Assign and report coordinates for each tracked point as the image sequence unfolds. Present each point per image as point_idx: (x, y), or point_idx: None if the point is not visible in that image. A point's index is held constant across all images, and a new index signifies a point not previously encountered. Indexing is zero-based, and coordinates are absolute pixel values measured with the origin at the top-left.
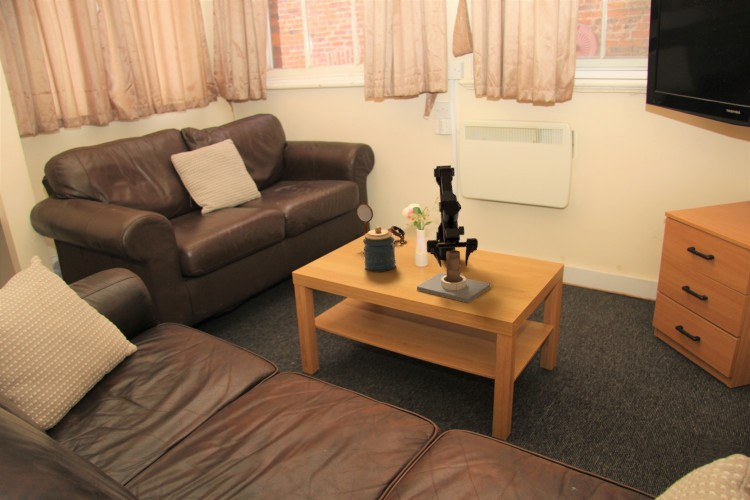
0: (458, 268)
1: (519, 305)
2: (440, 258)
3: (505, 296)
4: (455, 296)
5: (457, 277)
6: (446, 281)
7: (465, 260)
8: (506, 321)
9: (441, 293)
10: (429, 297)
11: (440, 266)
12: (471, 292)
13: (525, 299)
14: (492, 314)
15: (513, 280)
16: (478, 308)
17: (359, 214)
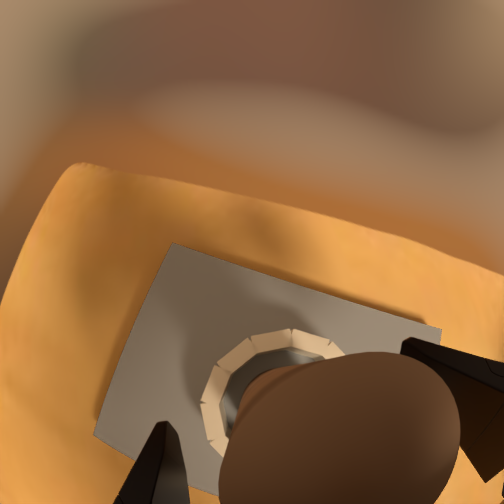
0: (243, 398)
1: (23, 266)
2: (458, 369)
3: (46, 337)
4: (238, 265)
5: (251, 383)
6: None
7: (165, 461)
8: (77, 163)
9: (318, 294)
10: (361, 273)
11: (408, 339)
12: (163, 321)
13: (5, 314)
14: (100, 186)
15: (46, 485)
16: (138, 214)
17: None
